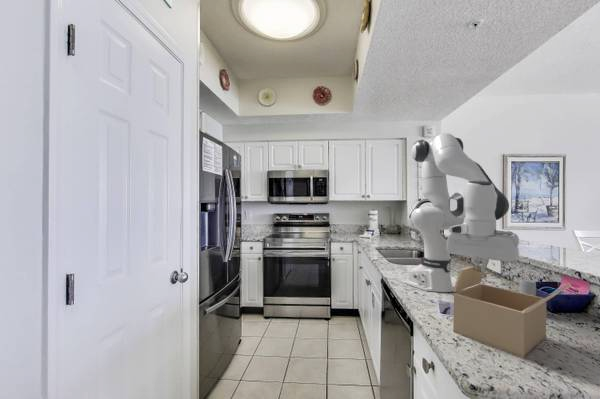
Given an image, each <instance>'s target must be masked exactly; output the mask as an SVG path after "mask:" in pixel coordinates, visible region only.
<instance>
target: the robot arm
mask: <svg viewBox="0 0 600 399" xmlns="http://www.w3.org/2000/svg"><path fill="white" fill-rule="evenodd" d="M411 155H412V158H413V159H414V161H415V162H417V163H422V164H421V174H420V175H421V188H422V194H423V197H424V198H425V199H426V200H428V201H429V202H430V203H431V204H432V206H422V207H418V208H414V210H412V212H411V213H410V222H411V225H413V227H414V228H416V229H417V230H418V231H419V233H420V235H421V238H422V240H423V250H424V253H423V254H424V256H423V257H420V258H419V261H420V264H418V265H416V266H415V267H413V268H412V269H410V270H409V272H408V275H407V278H404V279H403V282H402V283H404V284H405V285H409V286H410V287H411V286H412V287H414V288H417V289H420V290H422V291H425V292H437V293H448V292H449V293H450V292H453V289H454V287H453V284H452V283H453V282H452V277H451V269H452V262H451V261H452V260H451V254H452V255H458V256H463V257H464V256H465V257H470V258H471V262H472V263H473V266H474V265H475V271H479V272H485V273H486V270H485V266H486V265H487V263H488V264H489V262H490V260H491V261H499V262H506V263H515V262H517V261H519V258H520V255H519V254H520V253H519V247H518V246H519V242H520V238H519V236H518V235H517V233H514V232H513V231H509V230H507V231H505V230H497V220H498V221H499V220H500V219H502V218H503V217H504V216H505V215H506V214H507V213H508V211H509V210H510V204H509V200H508V198H507V196H506V195H505V194H504V193H503V192H502V191H500V190H499V189H498V188H497V185H495V184H494V182H493V180H492V179H491V178H490V177H489V175H488V174H487V172H485V170H484V169H483V167H482V166H481V165H480V164H479V163H478V162H477V161H475V160H473V159H471V158H470V157H469V156H468V155H467V154H466V153H465V152H464V143H463V140H462V139H461V138H460V137H455V136H454V135H453V134H451V133H447V132H446V133H445V132H444V133H441V134H438V135H437V136H435V137H434V138H433V137H432V138H427V139H420V140H416V141H415V142H414V143H413V144H412V148H411ZM447 176H450V177H457V178H460V179H464V180H466V181H468V182H466V184H465V186H464V188H463V189H461V190H460V191H457V192H455V193H453V195H451V196H450V194H449V189H448V180H447ZM441 230H448V232H449V234H448V235H447V239H446V238H445V237H443V236H442V233H441ZM479 259H481V263H482V265H481V266H480V265H479V264H480V263H479V261H478V260H479ZM487 266H488V265H487Z"/></svg>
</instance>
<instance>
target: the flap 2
mask: <svg viewBox="0 0 600 399" xmlns="http://www.w3.org/2000/svg"><path fill="white" fill-rule="evenodd" d="M572 284H573V283H571V282H569V283H567V284H565V285H564V286H562V287H560V288H559V289H557V290H556V291H554V292H552V293H551V294H550V295H548V296H546V297H544V298H545V299H543V300H542V301H540V302H538V303H537V304H535V305H534V306H532V307H531V308H529V309H527V310H526V311H525V312H526V313H528V312H530V311H531V310H533V309H535V308H536V307H538V306H539V305H541V304H543V303H544V302H546V303H547V301H549V300H550V299H552V298H554V297H555V296H557V295H558V294H559V293H561V292H562V291H564V290H566V289H568V288H569V287H570V286H572Z"/></svg>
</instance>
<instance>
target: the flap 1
mask: <svg viewBox="0 0 600 399" xmlns="http://www.w3.org/2000/svg"><path fill="white" fill-rule="evenodd" d="M482 263H483V262H481V263H479V265H480V266H481V265H482ZM488 265H489V262H488V263H487V265H486V266H485V272H479V271H475V265H474V264H473V265H472V266H471V265H470V266H467V267H463V268H461V269H460V271H459V273H458V275H457V278H456V281H455V284H454V287H453V291H452V292H454V293H458V292H460V291H463V290H466V289H468V288H471V287H474V286H476V285H479V284H482V280H483V277H484V275H485V273H486V270H487V267H488Z"/></svg>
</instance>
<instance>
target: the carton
mask: <svg viewBox="0 0 600 399" xmlns="http://www.w3.org/2000/svg"><path fill="white" fill-rule="evenodd" d="M545 298H546V297H541V296H538V295H536V296H533V295H528V294H524V293H520V292H519V291H515V290H510V289H505V288H501V287H497V286H492V285H487V284H483V283H479V284H476V285H473V286H471V287H468V288H465V289H462V290H460V291H457V292H454V293H453V303H454V317H453V332H454V333H456V334H458V335H461V336H463V337H466V338H468V339H470V340H474V341H477V342H479V343H482V344H484V345H487V346H490V347H492V348H495V349H497V350H500V351H503V352H505V353H508V354H511V355H513V356H516V357H519V358H521V359H525V358H527V356H528V355H529V354H530V353H531V352H532V351H533V350H535V349H536V348H537V347H538V346H539V345H540V344H541V343H542V342H543V341H544V340H546V338H547V301H546V302H544V303H543V304H541V305H539V306H538V307H536V308H535V309H533V310H531V311H530V312H528V313H526V312H525V311H526V310H527V309H529V308H531V307H532V306H534V305H535V304H537V303H538V302H540V301H542V300H543V299H545Z"/></svg>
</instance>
